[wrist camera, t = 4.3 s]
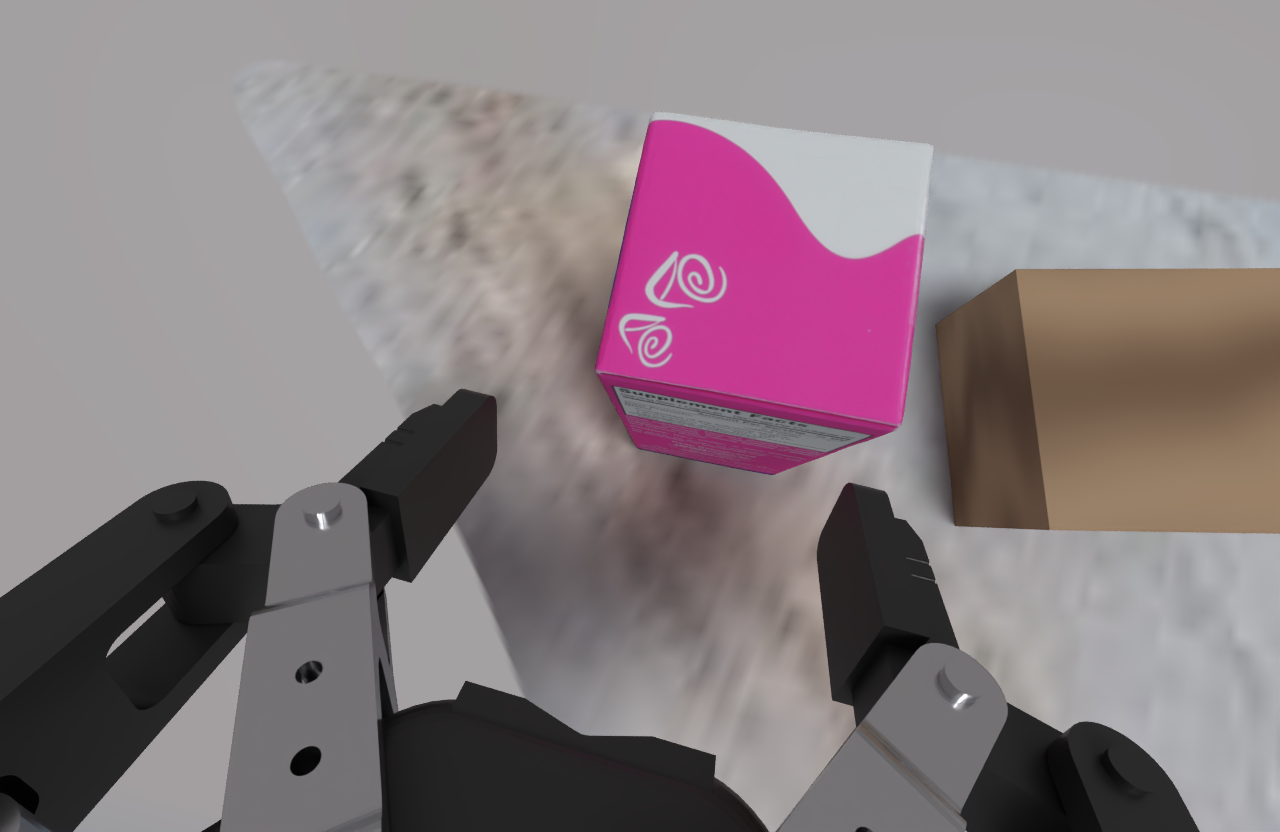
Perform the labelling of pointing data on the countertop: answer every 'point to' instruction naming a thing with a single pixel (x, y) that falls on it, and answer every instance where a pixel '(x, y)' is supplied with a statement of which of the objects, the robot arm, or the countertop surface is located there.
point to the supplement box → (765, 291)
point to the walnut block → (1116, 401)
